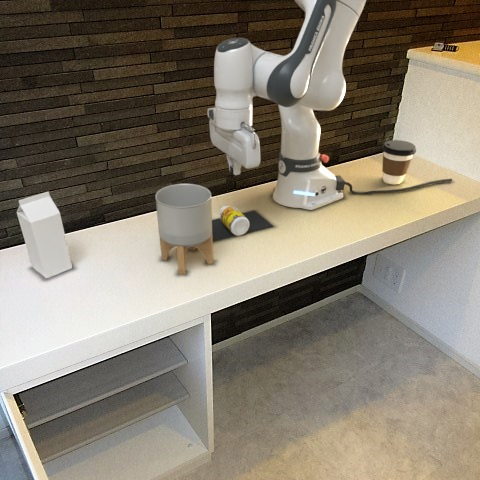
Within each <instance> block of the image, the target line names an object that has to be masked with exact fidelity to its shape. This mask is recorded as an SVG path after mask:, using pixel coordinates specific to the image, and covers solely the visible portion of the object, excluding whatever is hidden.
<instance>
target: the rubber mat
mask: <svg viewBox="0 0 480 480" xmlns="http://www.w3.org/2000/svg"><path fill="white" fill-rule="evenodd" d="M241 213H242V214H243V215H244V216H245V217H246V218H247V219H248V220H249V229H248V231H247V232H246V233H245V234H244V235H246V234H251V233H253V232H258V231H262V230H265V229H269V228H274V225H273V224H271V222H270V221H268V220H267V219H265V218H264V217H263V216H262V215H261V214H260V213H259V212H257V211H256V210H250V211H246V212H241ZM212 237H213V242H217V241H222V240H225V239H230V238H233V237H237V235H234V234H233V233H232V232H231V231H230V230H229V229H228V228H227V227H226V226H225V225H224V223H223V222H222V221H221V219H220V217H219V218H215V219H212Z"/></svg>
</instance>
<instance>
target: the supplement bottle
mask: <svg viewBox="0 0 480 480" xmlns="http://www.w3.org/2000/svg"><path fill="white" fill-rule="evenodd" d="M242 213H243V212H241V211H240V210H239V209H238V207H235V206H233V205H227V204H226V205H223V206H222V207H220V210H219V216H220V217H219V218H220V219H221V221H222V222H223V223H224V225H225V226H226V227H227V228H228V229H229V230H230V231H231V232H232V233H233V234H234V235H237V236H243V235H246V234H247V233H246V232H247V231H248V229H249V220H248V219H247V218H246V217H245V216H244V215H243V214H242ZM245 233H246V234H245ZM237 236H236V237H237Z"/></svg>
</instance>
